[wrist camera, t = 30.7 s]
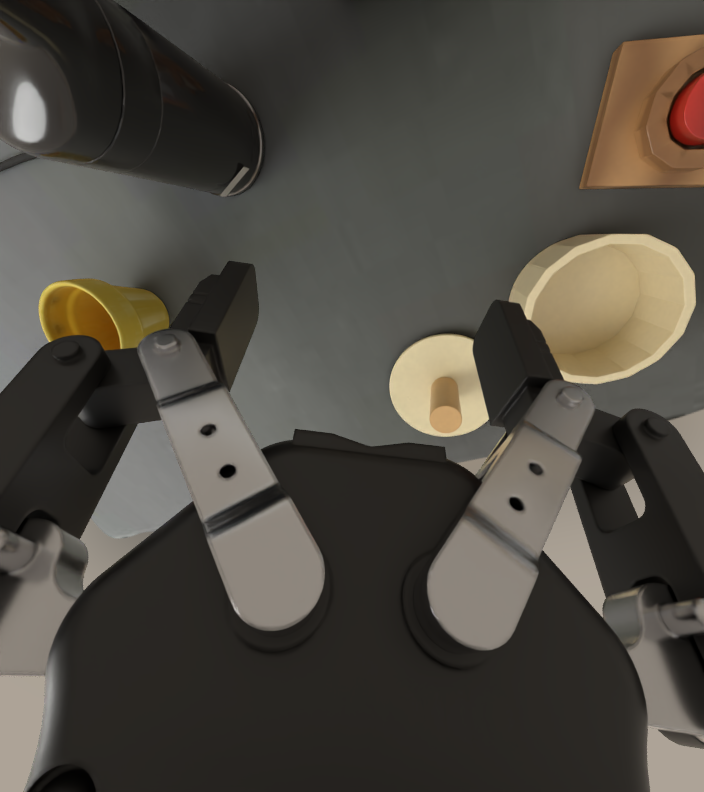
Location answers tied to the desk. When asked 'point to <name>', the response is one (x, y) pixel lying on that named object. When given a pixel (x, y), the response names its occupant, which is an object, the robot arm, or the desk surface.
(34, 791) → the robot arm
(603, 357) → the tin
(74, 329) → the flower pot
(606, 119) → the button block
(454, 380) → the lid
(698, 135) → the button
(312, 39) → the desk surface
